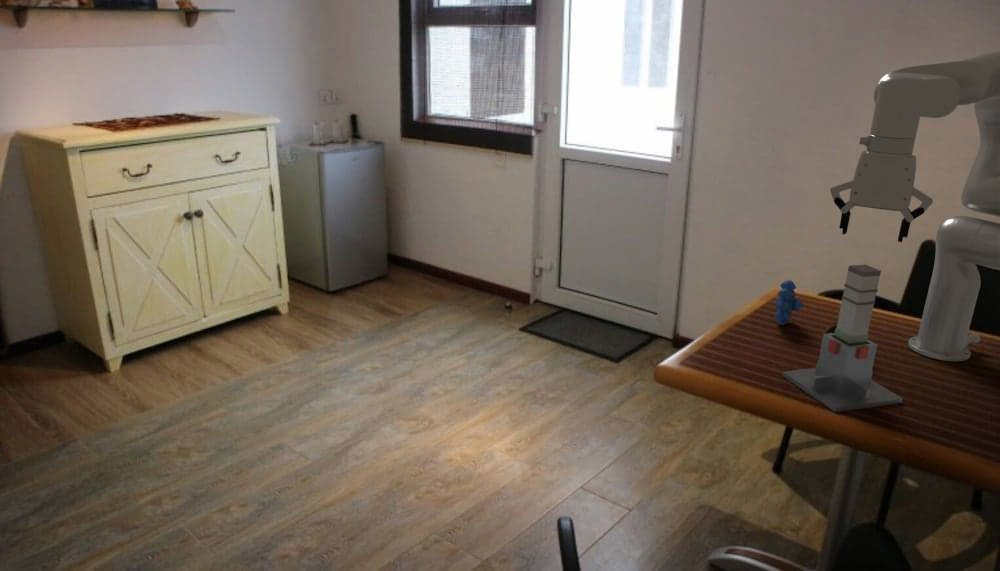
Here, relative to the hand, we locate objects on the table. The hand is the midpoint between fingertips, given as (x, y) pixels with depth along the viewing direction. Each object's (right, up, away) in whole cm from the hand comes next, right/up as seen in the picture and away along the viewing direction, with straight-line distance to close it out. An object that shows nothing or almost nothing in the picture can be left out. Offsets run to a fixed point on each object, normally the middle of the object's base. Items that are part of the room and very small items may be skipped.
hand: (871, 236), depth 143 cm
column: (-1, -24, +8) cm, 25 cm away
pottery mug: (+7, -25, +28) cm, 38 cm away
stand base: (-1, -30, +10) cm, 32 cm away
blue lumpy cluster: (0, -19, +43) cm, 47 cm away
